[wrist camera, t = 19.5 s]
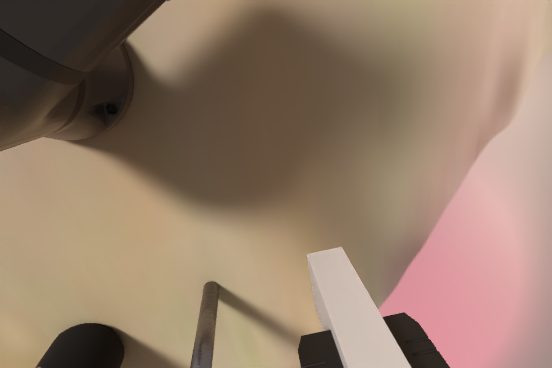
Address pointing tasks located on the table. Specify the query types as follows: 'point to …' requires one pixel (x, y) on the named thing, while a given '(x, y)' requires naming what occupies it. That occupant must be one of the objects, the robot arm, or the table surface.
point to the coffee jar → (85, 348)
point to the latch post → (206, 327)
